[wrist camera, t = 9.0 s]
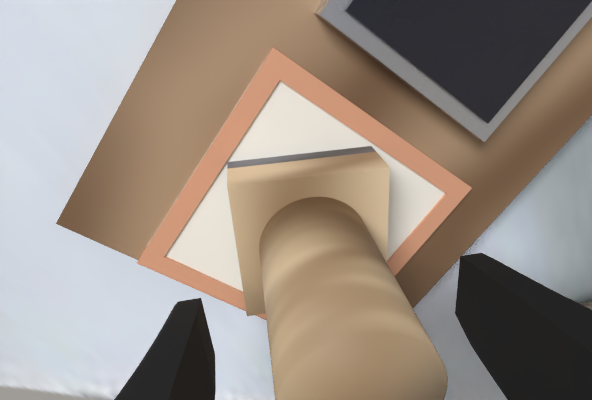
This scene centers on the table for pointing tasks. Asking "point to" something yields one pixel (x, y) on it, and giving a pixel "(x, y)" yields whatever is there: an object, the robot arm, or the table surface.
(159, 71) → the board
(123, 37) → the table surface
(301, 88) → the square coaster
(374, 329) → the stamp
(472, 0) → the ink pad
